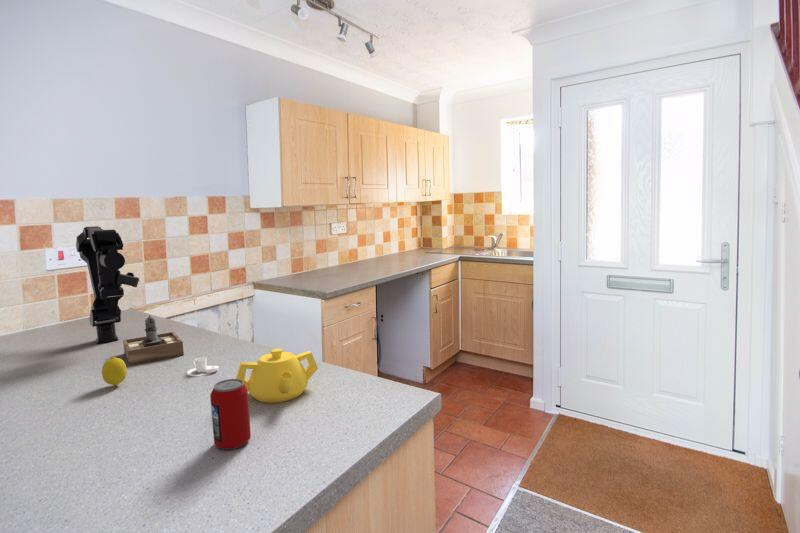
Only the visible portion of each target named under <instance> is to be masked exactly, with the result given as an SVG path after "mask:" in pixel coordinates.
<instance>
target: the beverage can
mask: <svg viewBox="0 0 800 533" xmlns="http://www.w3.org/2000/svg"><path fill="white" fill-rule="evenodd" d="M209 396H210V410H211V422H212V423H211V424H212V433H213V442H214V445H215V446H216V447H217V448H220V449H222V450H234V449H238V448H240V447H242V446H243V445H245V444H246V443H248V441H249V440H250V439H251V436H252V434H251V419H250V405H249V404H250V402H249V392H248V390H247V388H246V386H245V385H244V384H243V381H242V380H240V379H236V378H230V379H229V378H228V379H224V380H223V379H222V380H221V381H218V382H217V383H215V384H213V388H212V390H211V392H210V395H209Z"/></svg>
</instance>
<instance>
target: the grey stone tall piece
mask: <svg viewBox="0 0 800 533" xmlns="http://www.w3.org/2000/svg"><path fill="white" fill-rule="evenodd" d="M144 322H145V323H144V324H145V329H144V331H145V335H146V339H145V340H143V341H142V343H143V346H144V347H150V346H156V345H161V341H162V338H158V336H157V334H158V333H157V329H158V327H156V326H157V325H156V319H155V318H154V317H152V315H150V314H149V315H148V317H147V318H145V321H144Z"/></svg>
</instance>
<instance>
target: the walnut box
mask: <svg viewBox="0 0 800 533" xmlns="http://www.w3.org/2000/svg"><path fill="white" fill-rule="evenodd" d="M157 336H158V338H162V341H161V345H156V346H150V347H144V346H143V343H142V341H143V340H145V339H146V336H139V337H136V338H129V339H127V338H126V339H123V340H122V343H123V352H124V356H125V358H126V361H127V363H128V366H130V367H131V366H135V365H139V364H145V363H149V362H156V361H160V360H161V361H162V360H165V359H170V358H176V357H177V358H178V357H180V356H184V343H183V342H184V341H183V340H182V339H181V338H180V337H179V336H178V335H177V334H176V332H175V331H171V332H165V333H157Z"/></svg>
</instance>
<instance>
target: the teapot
mask: <svg viewBox="0 0 800 533" xmlns="http://www.w3.org/2000/svg"><path fill="white" fill-rule="evenodd" d="M269 352H270V353H266V354H263V355H261V356H260V357H259V358H258V360H257V361H256V362H254V361H252V362H251V361H250V362H249V361H241V362H240V363H239V366H238V371H237V374H236V377H235V379H240V380H242V381H243V384H244V385H245V386H246V388H247V390H248V394H250V395H251V396H252V397H253V398H254V399H255V400H256V401H258V402H261V403H268V404H271V403H272V404H274V403H275V404H276V403H282V402H286V401H291V400H294V399H296V398H297V397H299V396H301V395H302V393H303V392H304V391H305V390H307V389H306V388H307V387H308V384H309V380H310V379H311V377H312V376H313V375H314V374H315V373H316V372H317V370H319V367H318V365H317V362H316V360H315V358H314V355H313V354H312V352H311V350H308V351H304V352H301V353H299V354H296V355H295V354H294V353H292V352H291V351H283V349H282V348H273V349H272V350H269ZM304 360H306V361H307V363H308V366H307V367H306V368H305V367H304V365H303V364H302V362H301V361H304ZM247 369H248V370H251V373H250V376H249V379H247V378H246V373H247Z"/></svg>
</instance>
